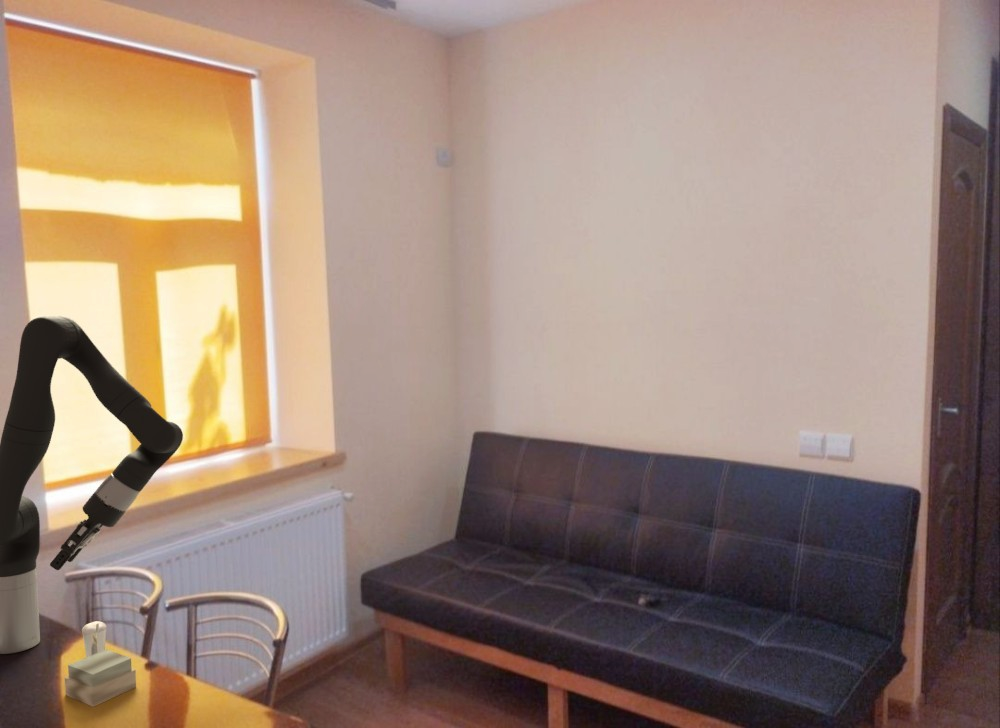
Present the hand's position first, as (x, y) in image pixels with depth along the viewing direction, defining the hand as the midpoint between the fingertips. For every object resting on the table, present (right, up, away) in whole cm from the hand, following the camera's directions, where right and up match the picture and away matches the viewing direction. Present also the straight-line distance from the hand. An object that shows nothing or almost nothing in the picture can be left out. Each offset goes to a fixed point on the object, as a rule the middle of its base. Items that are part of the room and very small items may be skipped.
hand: (60, 563), depth 165 cm
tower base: (+13, -23, -10) cm, 28 cm away
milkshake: (+7, -22, +1) cm, 23 cm away
